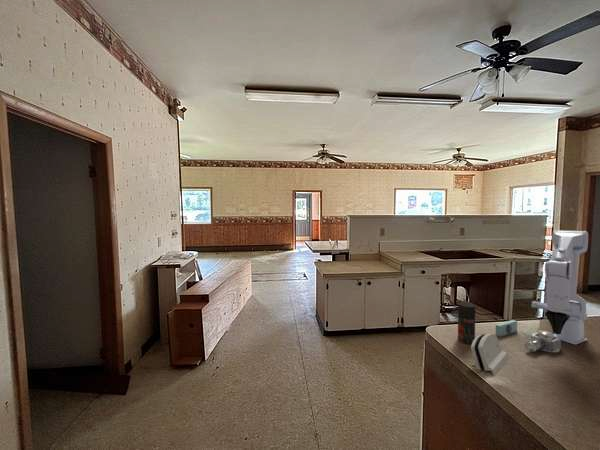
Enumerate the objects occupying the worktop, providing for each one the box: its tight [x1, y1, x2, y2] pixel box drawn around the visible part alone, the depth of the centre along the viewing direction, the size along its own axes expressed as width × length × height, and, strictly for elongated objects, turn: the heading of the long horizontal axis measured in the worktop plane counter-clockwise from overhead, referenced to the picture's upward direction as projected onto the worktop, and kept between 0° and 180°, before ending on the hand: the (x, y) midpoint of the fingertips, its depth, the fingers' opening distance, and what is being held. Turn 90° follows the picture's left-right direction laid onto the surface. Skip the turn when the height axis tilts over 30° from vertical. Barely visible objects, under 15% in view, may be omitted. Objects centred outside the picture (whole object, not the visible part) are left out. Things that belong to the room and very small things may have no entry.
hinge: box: [470, 333, 510, 377], centre depth 94 cm, size 17×5×10 cm, turn 130°
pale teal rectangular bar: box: [495, 319, 518, 337], centre depth 116 cm, size 12×2×4 cm, turn 113°
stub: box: [537, 330, 561, 354], centre depth 103 cm, size 8×8×6 cm
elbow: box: [524, 331, 562, 353], centre depth 102 cm, size 14×7×4 cm, turn 113°
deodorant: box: [457, 301, 476, 346], centre depth 109 cm, size 6×6×15 cm
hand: (557, 333), depth 95 cm, fingers closed
